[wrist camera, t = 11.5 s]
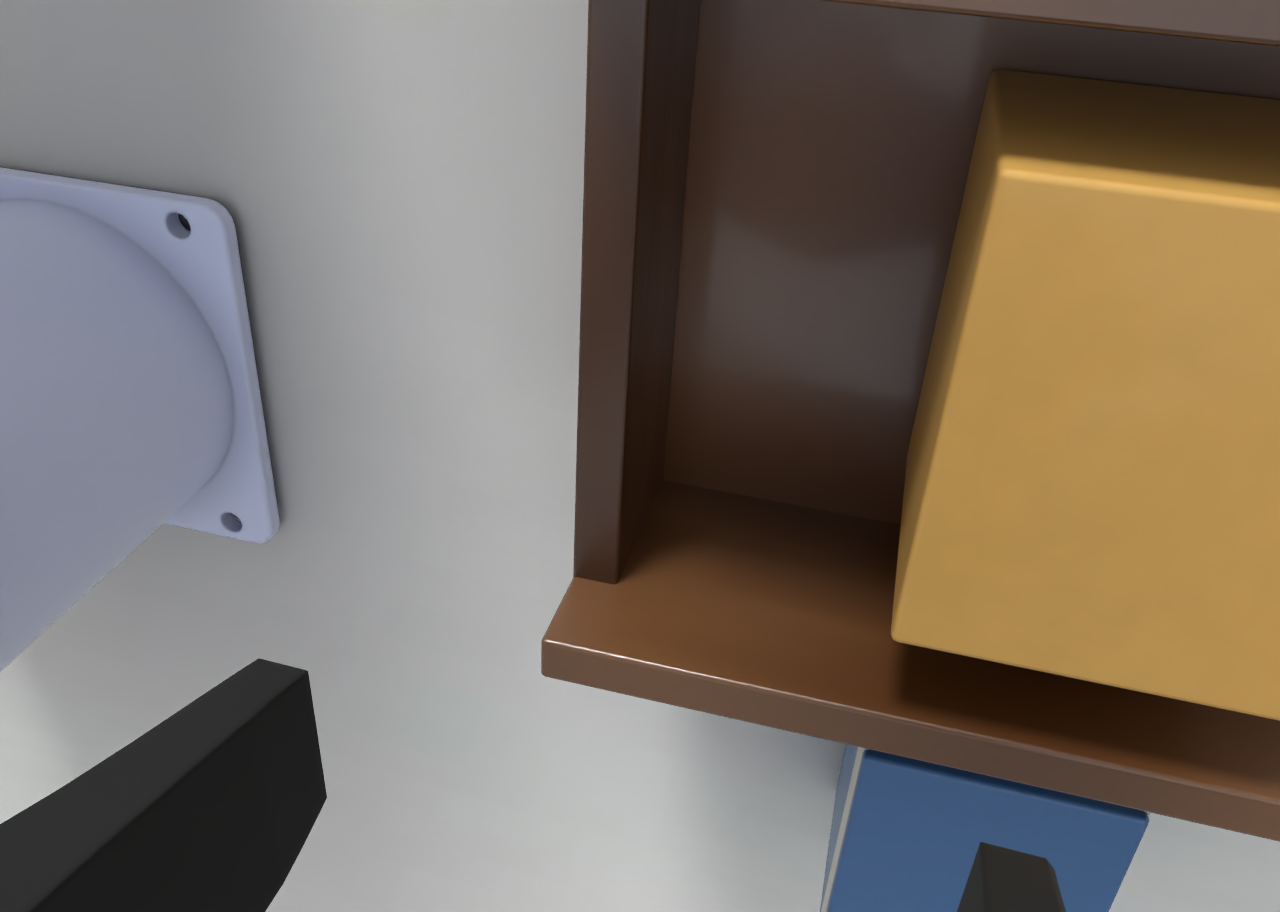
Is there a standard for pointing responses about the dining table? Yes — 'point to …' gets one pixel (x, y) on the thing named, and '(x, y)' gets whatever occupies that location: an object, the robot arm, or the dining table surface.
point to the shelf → (833, 377)
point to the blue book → (962, 836)
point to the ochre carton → (1106, 397)
